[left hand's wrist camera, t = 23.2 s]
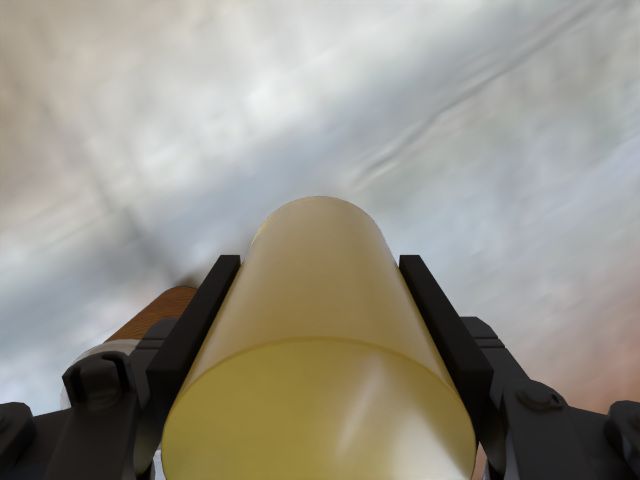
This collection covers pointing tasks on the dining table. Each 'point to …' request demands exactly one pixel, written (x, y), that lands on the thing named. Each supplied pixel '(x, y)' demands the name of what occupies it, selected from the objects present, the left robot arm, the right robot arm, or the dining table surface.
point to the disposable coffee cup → (140, 328)
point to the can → (318, 366)
